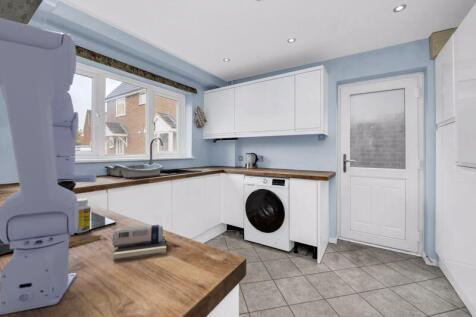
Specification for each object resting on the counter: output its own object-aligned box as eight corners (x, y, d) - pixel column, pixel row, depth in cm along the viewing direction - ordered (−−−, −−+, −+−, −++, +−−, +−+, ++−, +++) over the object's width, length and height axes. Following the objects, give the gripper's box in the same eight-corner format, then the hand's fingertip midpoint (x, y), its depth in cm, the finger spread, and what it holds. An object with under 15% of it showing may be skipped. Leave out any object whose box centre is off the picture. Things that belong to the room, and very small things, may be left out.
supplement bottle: (85, 233, 67) (85, 201, 67) (65, 234, 66) (65, 201, 66) (93, 228, 73) (93, 197, 73) (74, 229, 71) (74, 198, 72)
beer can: (112, 252, 54) (162, 245, 58) (111, 234, 53) (162, 229, 57) (115, 241, 59) (162, 236, 63) (115, 225, 58) (162, 221, 62)
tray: (166, 253, 54) (166, 247, 54) (113, 260, 50) (113, 254, 50) (164, 239, 63) (164, 234, 63) (119, 244, 59) (119, 239, 59)
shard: (101, 240, 63) (102, 234, 63) (87, 251, 56) (87, 244, 56) (61, 241, 62) (61, 235, 62) (41, 253, 54) (41, 246, 54)
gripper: (99, 157, 58) (98, 207, 58) (31, 156, 53) (30, 211, 53) (92, 157, 52) (91, 213, 52) (13, 156, 47) (12, 218, 47)
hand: (59, 212), depth 52 cm, fingers closed
